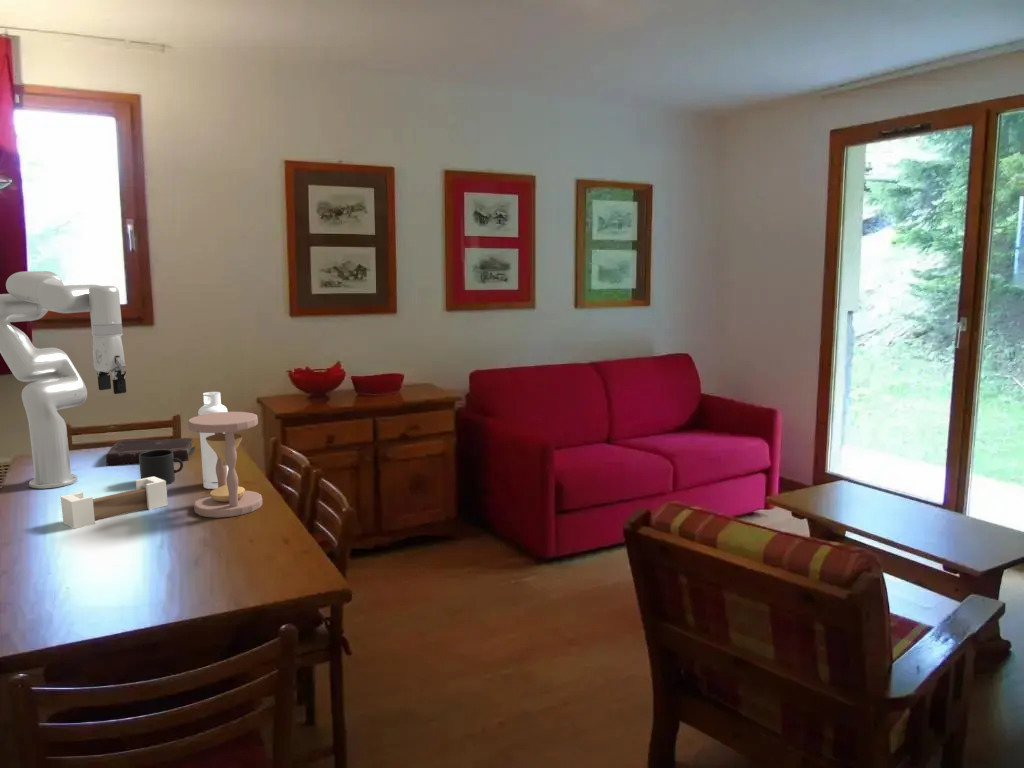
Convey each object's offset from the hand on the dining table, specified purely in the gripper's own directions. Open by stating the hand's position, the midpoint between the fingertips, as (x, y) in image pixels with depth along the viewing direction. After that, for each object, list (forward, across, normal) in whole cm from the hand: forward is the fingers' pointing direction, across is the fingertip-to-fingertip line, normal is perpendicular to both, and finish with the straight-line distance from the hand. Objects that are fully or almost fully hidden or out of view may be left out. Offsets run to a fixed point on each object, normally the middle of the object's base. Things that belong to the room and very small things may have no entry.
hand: (112, 391), depth 216 cm
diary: (+31, -36, +26) cm, 54 cm away
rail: (+30, +16, -8) cm, 35 cm away
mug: (+31, -4, +14) cm, 34 cm away
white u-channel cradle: (+30, +16, -8) cm, 35 cm away
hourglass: (+31, +34, +14) cm, 48 cm away
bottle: (+31, +12, +23) cm, 40 cm away
